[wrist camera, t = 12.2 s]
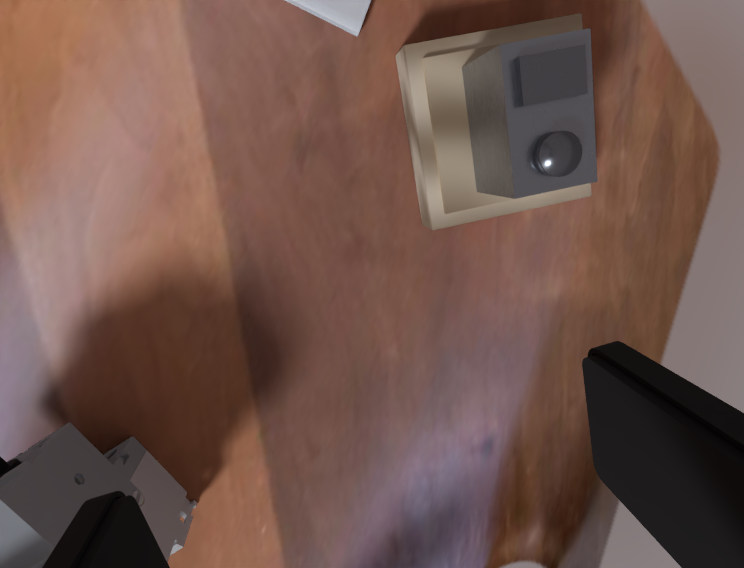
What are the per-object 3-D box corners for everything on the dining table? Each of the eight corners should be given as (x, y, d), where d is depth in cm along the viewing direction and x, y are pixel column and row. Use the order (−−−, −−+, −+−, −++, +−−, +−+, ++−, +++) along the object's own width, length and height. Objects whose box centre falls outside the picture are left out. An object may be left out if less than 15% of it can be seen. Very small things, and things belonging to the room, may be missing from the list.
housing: (461, 67, 29) (506, 40, 23) (535, 53, 30) (599, 23, 23) (476, 192, 31) (521, 200, 25) (544, 177, 32) (606, 182, 25)
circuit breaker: (78, 378, 34) (-86, 534, 20) (197, 503, 39) (132, 705, 24) (-4, 431, 35) (-224, 622, 20) (124, 549, 39) (16, 777, 24)
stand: (395, 55, 32) (405, 43, 28) (557, 26, 32) (585, 10, 29) (422, 224, 35) (434, 231, 32) (568, 193, 36) (594, 196, 33)
